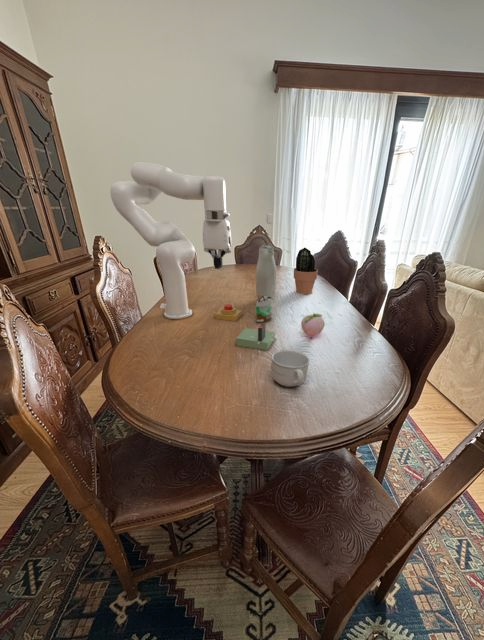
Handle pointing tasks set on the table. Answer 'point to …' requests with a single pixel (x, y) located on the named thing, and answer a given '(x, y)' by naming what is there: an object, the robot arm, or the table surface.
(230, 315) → the button block
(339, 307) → the table surface
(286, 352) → the teacup
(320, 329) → the decorative fruit
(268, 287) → the glass bottle
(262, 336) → the black rectangular slab
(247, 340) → the panel
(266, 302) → the food container
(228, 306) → the button
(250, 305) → the table surface
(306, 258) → the potted plant
